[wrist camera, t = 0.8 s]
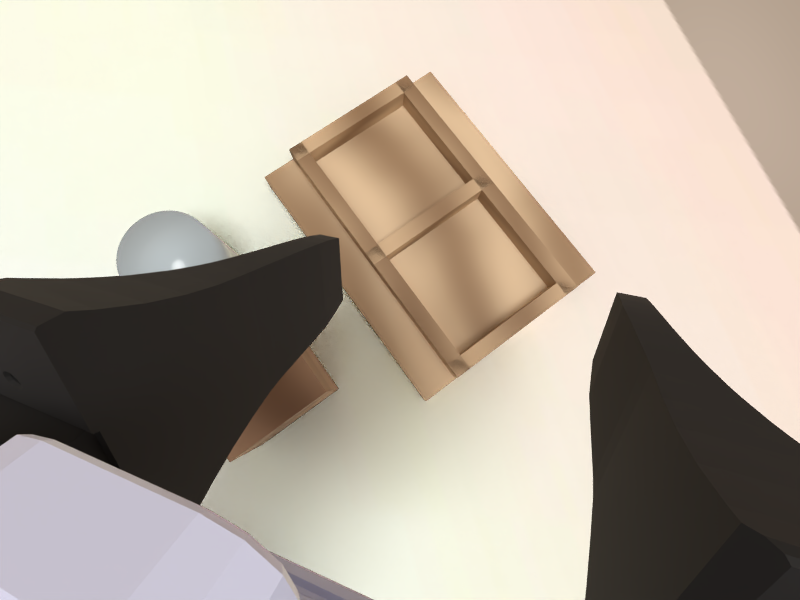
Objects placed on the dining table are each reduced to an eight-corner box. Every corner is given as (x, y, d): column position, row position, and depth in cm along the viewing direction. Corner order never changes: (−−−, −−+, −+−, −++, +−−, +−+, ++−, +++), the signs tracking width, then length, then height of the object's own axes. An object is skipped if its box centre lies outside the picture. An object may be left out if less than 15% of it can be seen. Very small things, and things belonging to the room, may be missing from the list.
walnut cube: (263, 444, 23) (229, 462, 18) (214, 369, 24) (169, 367, 19) (338, 388, 24) (326, 391, 19) (289, 317, 24) (264, 302, 20)
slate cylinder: (196, 332, 24) (147, 321, 19) (156, 271, 25) (98, 245, 20) (262, 288, 25) (231, 265, 20) (221, 229, 25) (181, 193, 20)
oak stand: (424, 399, 24) (428, 402, 21) (270, 186, 26) (258, 167, 23) (585, 277, 25) (606, 267, 23) (428, 85, 27) (432, 57, 25)
